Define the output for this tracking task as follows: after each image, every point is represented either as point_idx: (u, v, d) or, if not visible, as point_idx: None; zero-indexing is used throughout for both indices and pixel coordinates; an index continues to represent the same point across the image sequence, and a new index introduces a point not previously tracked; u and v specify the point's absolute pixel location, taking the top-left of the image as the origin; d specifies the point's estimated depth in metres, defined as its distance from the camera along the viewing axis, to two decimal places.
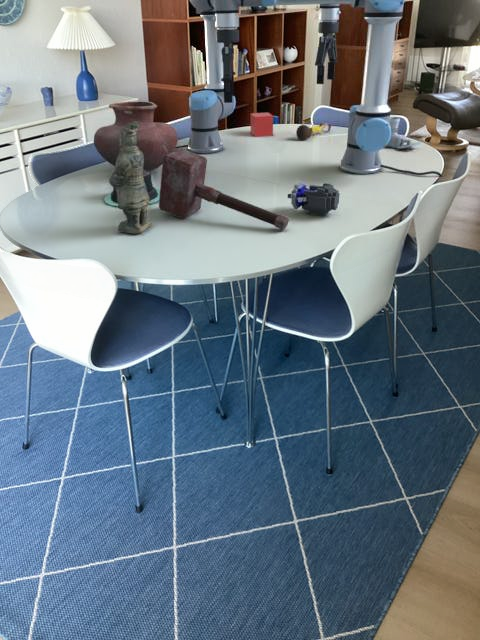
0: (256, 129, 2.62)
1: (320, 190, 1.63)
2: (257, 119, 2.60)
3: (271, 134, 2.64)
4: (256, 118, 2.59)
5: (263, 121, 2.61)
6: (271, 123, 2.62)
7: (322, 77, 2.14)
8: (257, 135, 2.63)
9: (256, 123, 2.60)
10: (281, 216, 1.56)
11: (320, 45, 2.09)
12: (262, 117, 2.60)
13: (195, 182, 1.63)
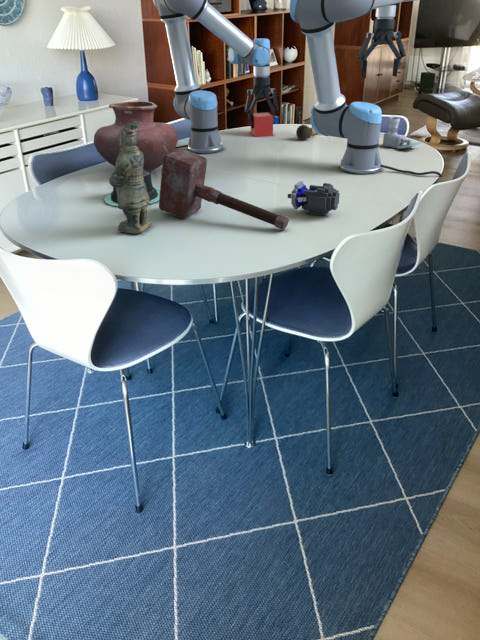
0: (256, 129, 2.62)
1: (320, 190, 1.63)
2: (257, 119, 2.60)
3: (271, 134, 2.64)
4: (256, 118, 2.59)
5: (263, 121, 2.61)
6: (271, 123, 2.62)
7: None
8: (257, 135, 2.63)
9: (256, 123, 2.60)
10: (281, 216, 1.56)
11: None
12: (262, 117, 2.60)
13: (195, 182, 1.63)
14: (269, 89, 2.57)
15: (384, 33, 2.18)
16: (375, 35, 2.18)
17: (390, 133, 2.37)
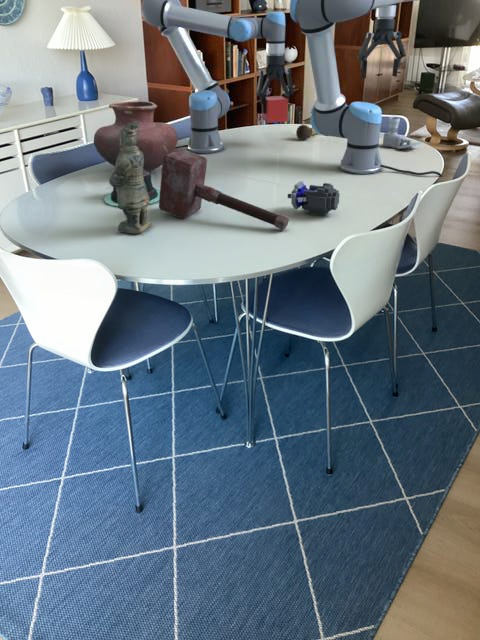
0: (269, 114, 2.35)
1: (320, 190, 1.63)
2: (270, 103, 2.33)
3: (285, 120, 2.38)
4: (269, 102, 2.33)
5: (277, 105, 2.34)
6: (286, 107, 2.36)
7: None
8: (270, 121, 2.37)
9: (269, 107, 2.34)
10: (281, 216, 1.56)
11: None
12: (276, 101, 2.33)
13: (195, 182, 1.63)
14: (283, 69, 2.31)
15: (384, 33, 2.18)
16: (375, 35, 2.18)
17: (390, 133, 2.37)
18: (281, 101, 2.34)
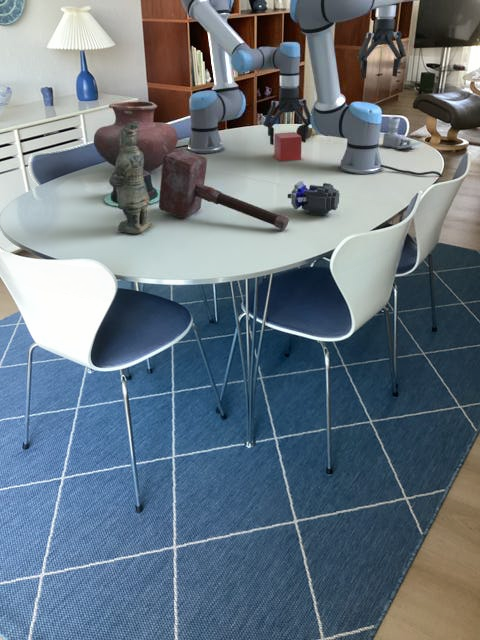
0: (282, 152, 2.23)
1: (320, 190, 1.63)
2: (283, 141, 2.20)
3: (299, 158, 2.25)
4: (282, 140, 2.20)
5: (290, 143, 2.21)
6: (299, 145, 2.23)
7: None
8: (283, 159, 2.24)
9: (282, 145, 2.21)
10: (281, 216, 1.56)
11: None
12: (289, 138, 2.20)
13: (195, 182, 1.63)
14: (298, 102, 2.18)
15: (384, 33, 2.18)
16: (375, 35, 2.18)
17: (390, 133, 2.37)
18: (294, 139, 2.21)
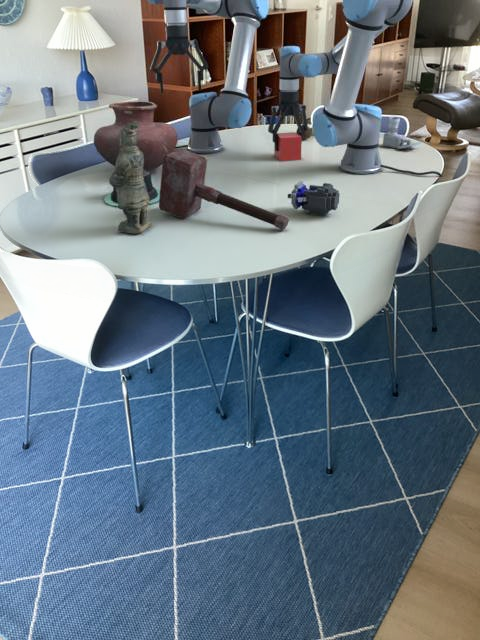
0: (282, 152, 2.23)
1: (320, 190, 1.63)
2: (283, 141, 2.20)
3: (299, 158, 2.25)
4: (282, 140, 2.20)
5: (290, 143, 2.21)
6: (299, 145, 2.23)
7: None
8: (283, 159, 2.24)
9: (282, 145, 2.21)
10: (281, 216, 1.56)
11: None
12: (289, 138, 2.20)
13: (195, 182, 1.63)
14: (188, 43, 1.90)
15: (289, 105, 2.17)
16: (280, 107, 2.17)
17: (390, 133, 2.37)
18: (294, 139, 2.21)
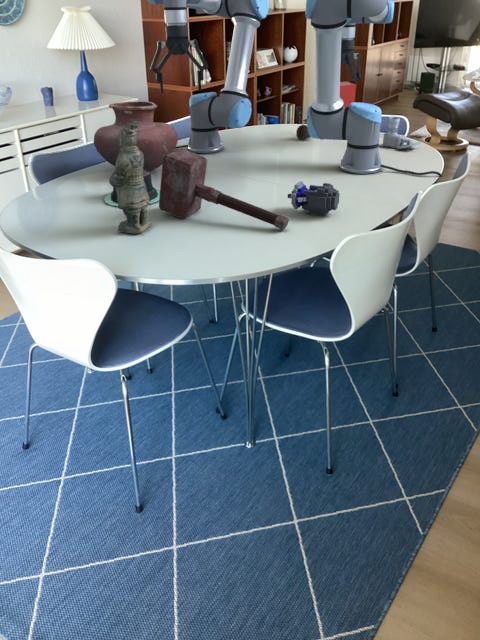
0: None
1: (320, 190, 1.63)
2: None
3: None
4: None
5: (345, 91, 2.30)
6: (353, 93, 2.31)
7: None
8: None
9: None
10: (281, 216, 1.56)
11: None
12: (344, 86, 2.29)
13: (195, 182, 1.63)
14: (188, 43, 1.90)
15: (345, 53, 2.26)
16: None
17: (390, 133, 2.37)
18: (349, 86, 2.30)
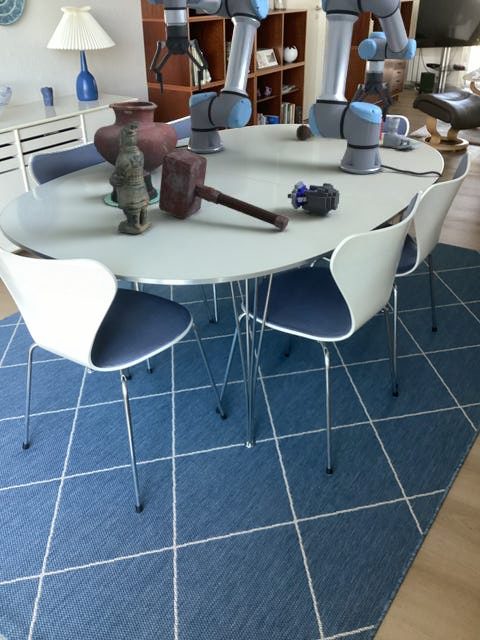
0: None
1: (320, 190, 1.63)
2: None
3: (379, 138, 2.53)
4: None
5: None
6: None
7: None
8: None
9: None
10: (281, 216, 1.56)
11: None
12: None
13: (195, 182, 1.63)
14: (188, 43, 1.90)
15: (374, 85, 2.44)
16: (366, 86, 2.44)
17: (390, 133, 2.37)
18: None
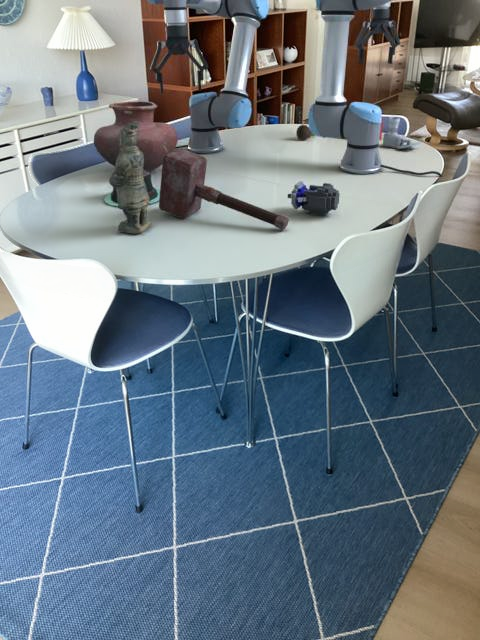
0: None
1: (320, 190, 1.63)
2: None
3: (379, 138, 2.53)
4: None
5: None
6: None
7: None
8: None
9: None
10: (281, 216, 1.56)
11: None
12: None
13: (195, 182, 1.63)
14: (188, 43, 1.90)
15: (380, 22, 2.32)
16: (371, 24, 2.31)
17: (390, 133, 2.37)
18: None
